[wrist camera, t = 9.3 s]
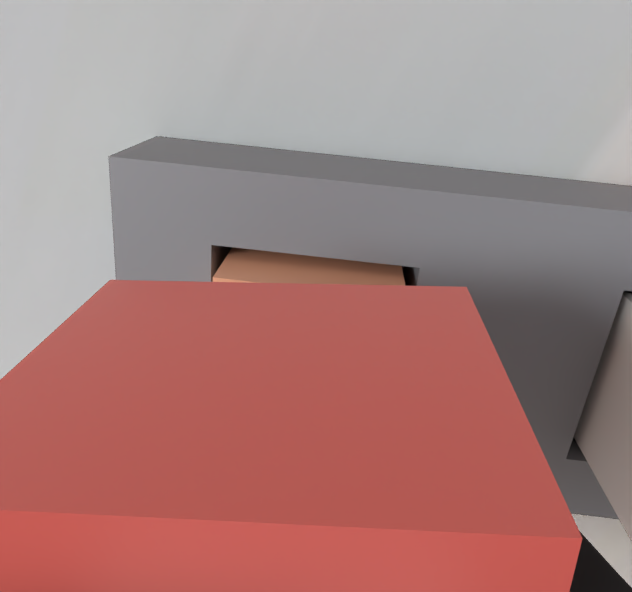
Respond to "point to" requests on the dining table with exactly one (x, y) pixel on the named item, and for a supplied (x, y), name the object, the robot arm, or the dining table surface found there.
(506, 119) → the dining table surface
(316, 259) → the block
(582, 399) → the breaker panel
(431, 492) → the cap
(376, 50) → the dining table surface
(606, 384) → the block
